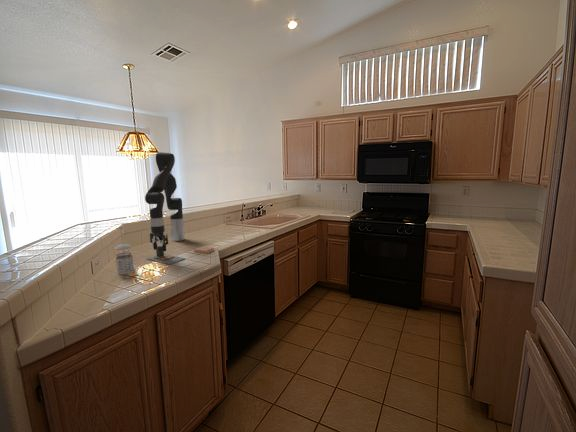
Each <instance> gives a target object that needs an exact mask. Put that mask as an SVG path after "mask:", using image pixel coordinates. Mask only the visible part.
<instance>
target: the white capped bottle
mask: <svg viewBox="0 0 576 432" xmlns="http://www.w3.org/2000/svg"><path fill="white" fill-rule="evenodd" d="M122 229H124V228H123V226H119V227H118V230H122ZM120 236H121V238H123V233H122V231H120ZM123 242H124V241H123V240H121V243H120V244H118V245H116V246H115V247H114V250H115V251H122V252H120V253H117V254H116V258H115V261H116V263H115V264H116V272H115V275H127V274H131V273H133V272H136V268H135V266H134V261H133V260H134V259H133V255H132V252H130V251H129V250H127V249H130V248H131V247H132V245H131V244H129V243H123ZM125 250H127V252H126V251H125Z"/></svg>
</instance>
